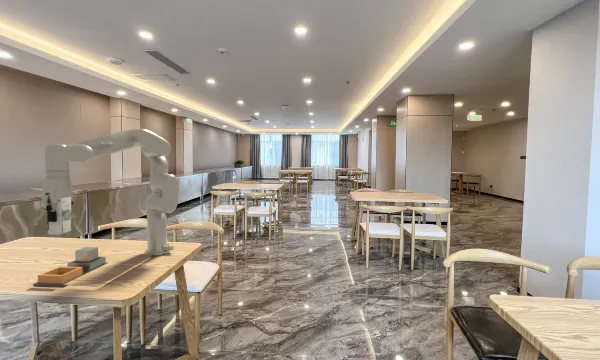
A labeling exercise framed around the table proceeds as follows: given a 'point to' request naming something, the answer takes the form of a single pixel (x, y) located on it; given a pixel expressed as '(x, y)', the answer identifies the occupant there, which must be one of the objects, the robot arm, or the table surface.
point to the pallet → (67, 273)
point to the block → (86, 255)
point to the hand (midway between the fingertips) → (59, 219)
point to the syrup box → (61, 218)
